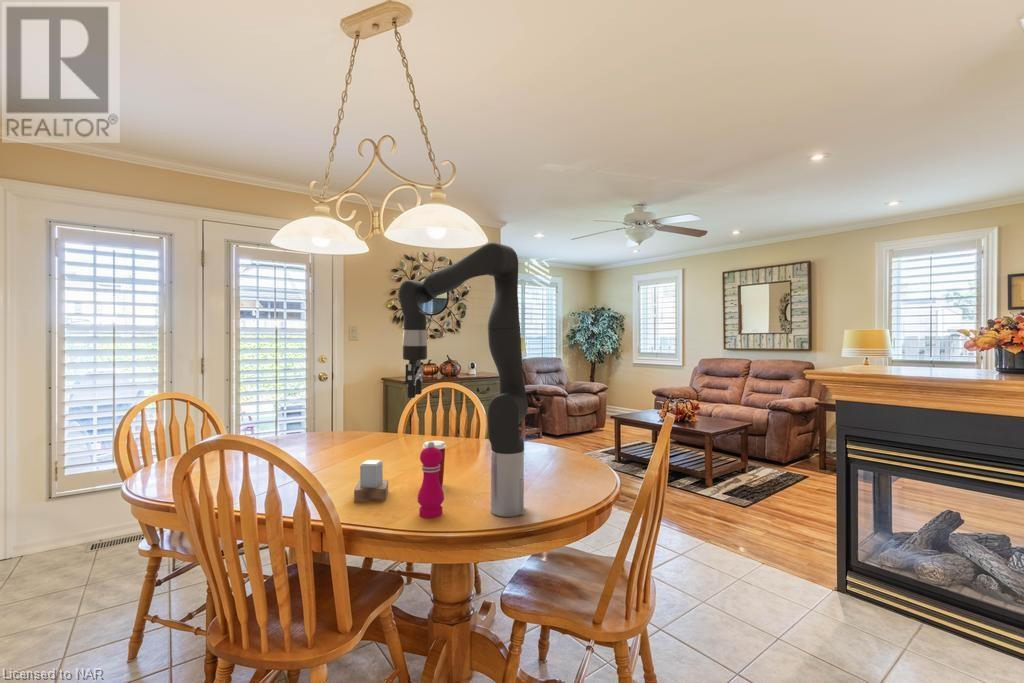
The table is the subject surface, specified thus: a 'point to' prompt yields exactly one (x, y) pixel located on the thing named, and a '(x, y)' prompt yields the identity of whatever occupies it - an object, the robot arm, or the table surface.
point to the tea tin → (371, 473)
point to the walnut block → (371, 493)
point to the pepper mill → (430, 483)
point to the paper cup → (441, 447)
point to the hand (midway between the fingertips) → (414, 395)
